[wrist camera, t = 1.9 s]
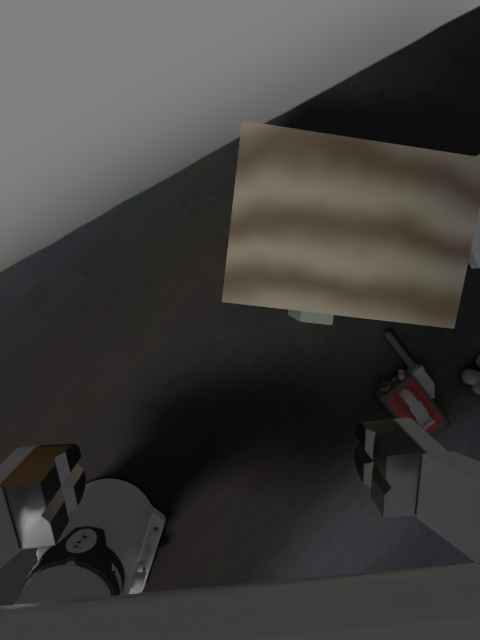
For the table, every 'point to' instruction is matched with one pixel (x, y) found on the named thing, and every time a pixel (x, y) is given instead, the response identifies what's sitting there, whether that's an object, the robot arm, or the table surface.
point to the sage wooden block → (311, 317)
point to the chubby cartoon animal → (472, 376)
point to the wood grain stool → (350, 226)
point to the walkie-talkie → (412, 394)
